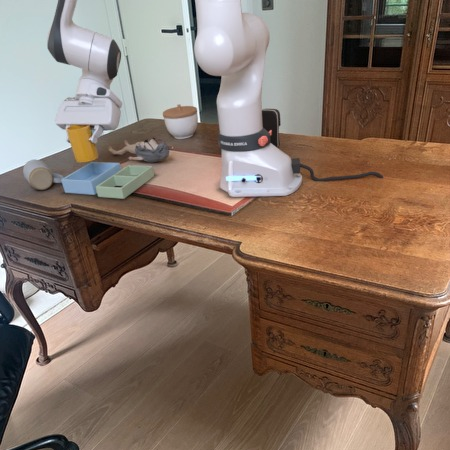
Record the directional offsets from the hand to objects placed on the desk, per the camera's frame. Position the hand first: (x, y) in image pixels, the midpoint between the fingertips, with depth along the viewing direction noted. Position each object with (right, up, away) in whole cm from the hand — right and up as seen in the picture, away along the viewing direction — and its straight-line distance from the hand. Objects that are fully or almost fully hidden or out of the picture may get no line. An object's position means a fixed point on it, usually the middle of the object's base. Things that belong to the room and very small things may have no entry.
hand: (81, 142), depth 125 cm
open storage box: (+2, -10, +8) cm, 13 cm away
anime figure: (+13, +3, +23) cm, 27 cm away
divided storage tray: (+12, -12, +3) cm, 17 cm away
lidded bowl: (+26, +17, +40) cm, 50 cm away
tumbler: (+1, -4, +3) cm, 5 cm away
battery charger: (+56, +6, +20) cm, 60 cm away
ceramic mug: (-14, -10, +11) cm, 20 cm away
